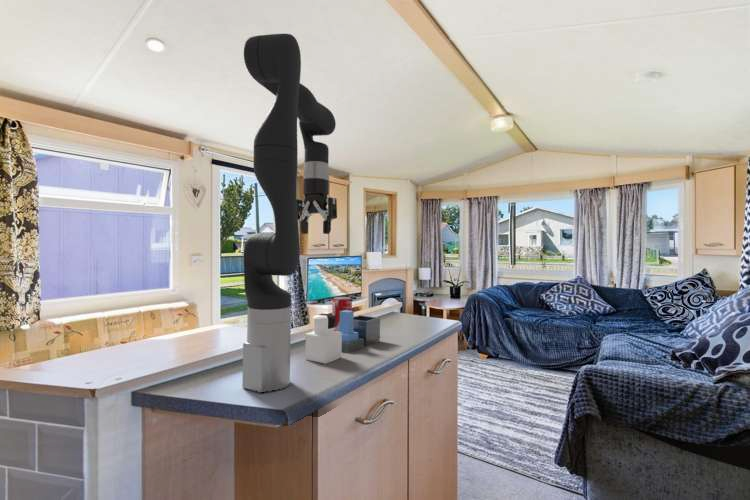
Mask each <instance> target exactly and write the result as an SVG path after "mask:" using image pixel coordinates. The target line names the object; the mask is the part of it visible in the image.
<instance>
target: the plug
mask: <svg viewBox="0 0 750 500" xmlns="http://www.w3.org/2000/svg"><path fill="white" fill-rule="evenodd" d="M354 317H355V314H354V310H352V311H348V310H343V311H340V332H342V342H344V343H350V342H353V341H356V340H358V332H353V318H354Z"/></svg>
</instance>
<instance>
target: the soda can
mask: <svg viewBox="0 0 750 500" xmlns="http://www.w3.org/2000/svg"><path fill="white" fill-rule="evenodd" d="M352 309H353V303H352V301H351V297H349V296H334V298H333V301H332V307H331V311H332V312H331V314H332V315H334V316H335V331H338V332H340V311H343V310H348V311H353V310H352Z"/></svg>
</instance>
